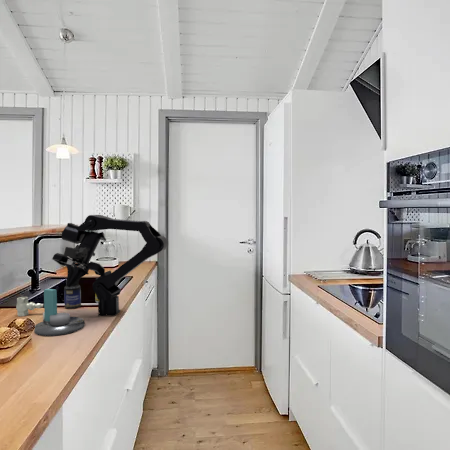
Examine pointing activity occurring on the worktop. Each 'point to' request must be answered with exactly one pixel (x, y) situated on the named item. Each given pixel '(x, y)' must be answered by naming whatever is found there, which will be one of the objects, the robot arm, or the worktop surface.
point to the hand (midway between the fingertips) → (67, 286)
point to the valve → (26, 306)
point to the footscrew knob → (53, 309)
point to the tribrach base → (59, 327)
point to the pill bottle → (72, 296)
